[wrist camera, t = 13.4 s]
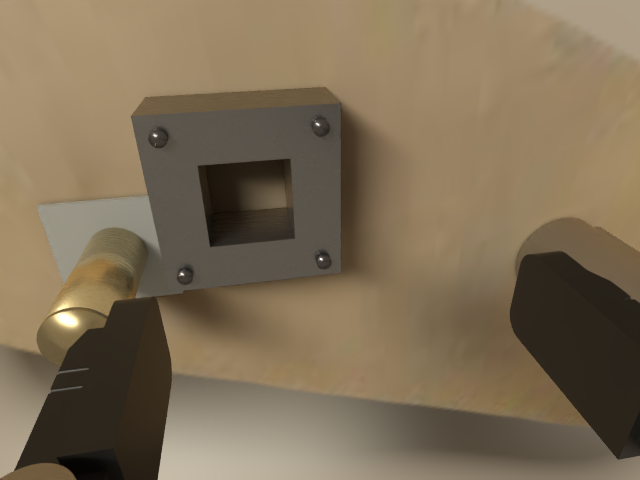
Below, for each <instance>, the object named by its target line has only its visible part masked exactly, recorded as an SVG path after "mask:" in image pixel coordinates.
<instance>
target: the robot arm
mask: <svg viewBox="0 0 640 480" xmlns="http://www.w3.org/2000/svg"><path fill="white" fill-rule="evenodd" d="M516 274H517V281H516V285H515V290H514V295H513V299H512V304H511V308H510V321H511V325H512V328H513V331H514V333H515V335H516V336H517V338H518V339H519V340H520V341H521V343H522V344H523V345H524V346H525V347H526V349H527V350H528V351H529V352H530V353H531V355H532V356H533V357H534V358H535V360H536V361H537V362H538V363H539V364H540V366H541V367H542V368H543V369H544V370H545V372H546V373H547V374H548V375H549V376H550V378H551V379H552V380H553V381H554V383H555V384H556V385H557V386H558V387H559V389H560V390H561V391H562V392H563V393H564V395H565V396H566V397H567V398H568V400H569V401H570V402H571V403H572V404H573V406H574V407H575V408H576V409H577V410H578V412H579V413H580V414H581V415H582V416H583V418H584V419H585V420H586V421H587V423H588V424H589V425H590V426H591V427H592V429H593V430H594V431H595V432H596V433H597V435H598V436H599V437H600V438H601V439H602V441H603V442H604V443H605V444H606V446H607V447H608V448H609V449H610V450H611V452H612V453H613V454H614V455H615V456H616V458H617V459H624V458H629V457H635V456H640V252H638V251H637V250H635V249H634V248H632V247H631V246H629V245H627V244H626V243H624V242H623V241H621V240H620V239H618V238H617V237H615V236H613V235H612V234H610V233H609V232H607V231H606V230H604V229H603V228H601V227H592V226H591V225H589V224H588V223H586V222H585V221H582V220H580V219H575V218H564V219H559V220H556V221H553V222H551V223H548V224H546V225H544V226H543V227H541V228H540V229H539V230H537V231H536V232H535V233H534V234H533V235H532V236H530V237H529V239H528V240H527V241H526V242H525V244H524V245H523V247H522V248H521V250H520V252H519V255H518V258H517V261H516ZM171 381H172V368H171V358H170V352H169V348H168V344H167V340H166V335H165V331H164V327H163V323H162V318H161V314H160V310H159V306H158V302H157V300H156V298H155V297H154V296H151V297H142V298H133V299H125V300H116V301H114V303H113V305H112V307H111V310H110V313H109V315H108V318H107V321H106V323H105V326H104V327H103V328H94V329H88V330H87V331H86V332H85V333H84V334H83V335H82V336H81V337H80V338H79V339H78V340H77V341H76V342H75V343H74V344H73V345H72V346H71V347H70V348H69V349H68V351H67V353H66V355H65V358H64V360H63V362H62V364H61V367H60V369H59V375H57V376H56V378H55V380H54V382H53V385H52V387H51V393H50V394H48V396H47V398H46V400H45V403H44V405H43V407H42V409H41V412H40V414H39V416H38V419H37V421H36V423H35V425H34V428H33V430H32V432H31V434H30V436H29V439H28V441H27V443H26V445H25V448H24V450H23V452H22V454H21V457H20V459H19V461H18V463H17V466H16V468H15V470H14V471H13V472H11V473H9V474H7V475H5V476H4V477H2V478H0V480H157V479H158V472H159V466H160V459H161V452H162V444H163V438H164V430H165V424H166V417H167V410H168V404H169V397H170V389H171Z"/></svg>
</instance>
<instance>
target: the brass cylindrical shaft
mask: <svg viewBox="0 0 640 480" xmlns="http://www.w3.org/2000/svg"><path fill="white" fill-rule="evenodd" d="M147 258H148V251H147V247H146V245H145V243H144V242H143V240H142V239H141V238H140V237H139V236H138V235H136V234H135V233H133V232H132V231H129V230H127V229H124V228H117V227H112V228H106V229H102V230H100V231H98V232H97V233H95V234H94V235H93V236H92V237H91V238H90V240H89V242H88V243H87V245H86V247H85V249H84V250H83V252H82V254H81V256H80V257H79V259H78V261H77V263H76V265H75V266H74V268H73V270H72V272H71V273H70V275H69V277H68V279H67V280H66V282H65V284H64V286H63V287H62V289H61V291H60V293H59V294H58V296H57V298H56V300H55V301H54V303H53V305H52V307H51V309H50V310H49V312H48V314H47V316H46V317H45V319H44V321H43V323H42V324H41V326H40V328H39V330H38V333H37V345H38V348H39V350H40V352H41V353H42V354H43V356H44V357H45V358H46V359H48V360H49V361H50V362H51V363H53V364H55V365H57V366H58V367H61V364H62V362H63V360H64V358H65V355H66V353H67V351H68V349H69V348H70V347H71V346H72V345H73V344H74V343H75V342H76V341H77V340H78V339H79V338H80V337H81V336H82V335H83V334H84V333H85V332H86V331H87V330H88V329H94V328H103V327H104V326H105V323H106V321H107V318H108V315H109V313H110V310H111V307H112V305H113V303H114V301H116V300H125V299H133V298H136V294H137V291H138V288H139V285H140V281H141V278H142V275H143V272H144V268H145V265H146V262H147Z"/></svg>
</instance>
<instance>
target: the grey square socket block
mask: <svg viewBox="0 0 640 480" xmlns="http://www.w3.org/2000/svg"><path fill="white" fill-rule="evenodd" d="M131 119H132V123H133V128H134V133H135V137H136V142H137V146H138V151H139V156H140V160H141V165H142V169H143V174H144V179H145V183H146V188H147V192H148V197H149V202H150V206H151V211H152V215H153V220H154V224H155V229H156V234H157V238H158V243H159V247H160V252H161V257H162V261H163V266H164V270H165V275H166V280H167V284H168V289H169V292H176V291H185V290H194V289H203V288H212V287H220V286H229V285H238V284H247V283H256V282H264V281H273V280H282V279H291V278H300V277H308V276H317V275H326V274H335V273H341V103H340V102H339V101H338V100H337V99H336V98H335V97H334V96H333V95H332V94H331V93H330V92H329V91H328V90H327V89H326V87H319V88H302V89H284V90H266V91H248V92H231V93H213V94H195V95H178V96H160V97H145V98H144V100H143V101H142V102H141V104H140V105H139V106H138V107H137V109H136V110H135V111H134V113H133V114H132V115H131ZM277 159H284V170H285V186H286V202H287V208H276V209H265V210H254V211H243V212H232V213H221V214H212V208H211V201H210V194H209V188H208V181H207V174H206V167H205V165H212V164H225V163H238V162H251V161H264V160H277Z"/></svg>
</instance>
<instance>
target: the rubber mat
mask: <svg viewBox="0 0 640 480" xmlns="http://www.w3.org/2000/svg"><path fill="white" fill-rule="evenodd" d="M37 209H38V212H39V215H40V218H41V221H42V224H43V226H44V229H45V232H46V235H47V238H48V241H49V244H50V247H51V249H52V252H53V255H54V258H55V261H56V264H57V267H58V269H59V272H60V275H61V278H62V281H63V284H65V282H66V280H67V279H68V277H69V275H70V273H71V272H72V270H73V268H74V266H75V265H76V263H77V261H78V259H79V257H80V256H81V254H82V252H83V250H84V249H85V247H86V245H87V243H88V242H89V240H90V238H91V237H92V236H93V235H94V234H95V233H97V232H98V231H100V230H102V229H106V228H112V227H117V228H124V229H127V230H129V231H132V232H133V233H135V234H136V235H138V236H139V237H140V238H141V239H142V240H143V242H144V243H145V245H146V247H147V251H148V258H147V262H146V265H145V268H144V272H143V275H142V278H141V281H140V285H139V288H138V291H137V294H136V298H142V297H151V296H154V297H156V296H165V295H173V294H182V293H184V291H176V292H169V289H168V284H167V280H166V275H165V270H164V266H163V261H162V257H161V252H160V247H159V243H158V238H157V234H156V229H155V224H154V220H153V215H152V211H151V206H150V202H149V197H148V195H146V196H134V197H122V198H111V199H99V200H87V201H75V202H64V203H52V204H40V205H38V206H37Z"/></svg>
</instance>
